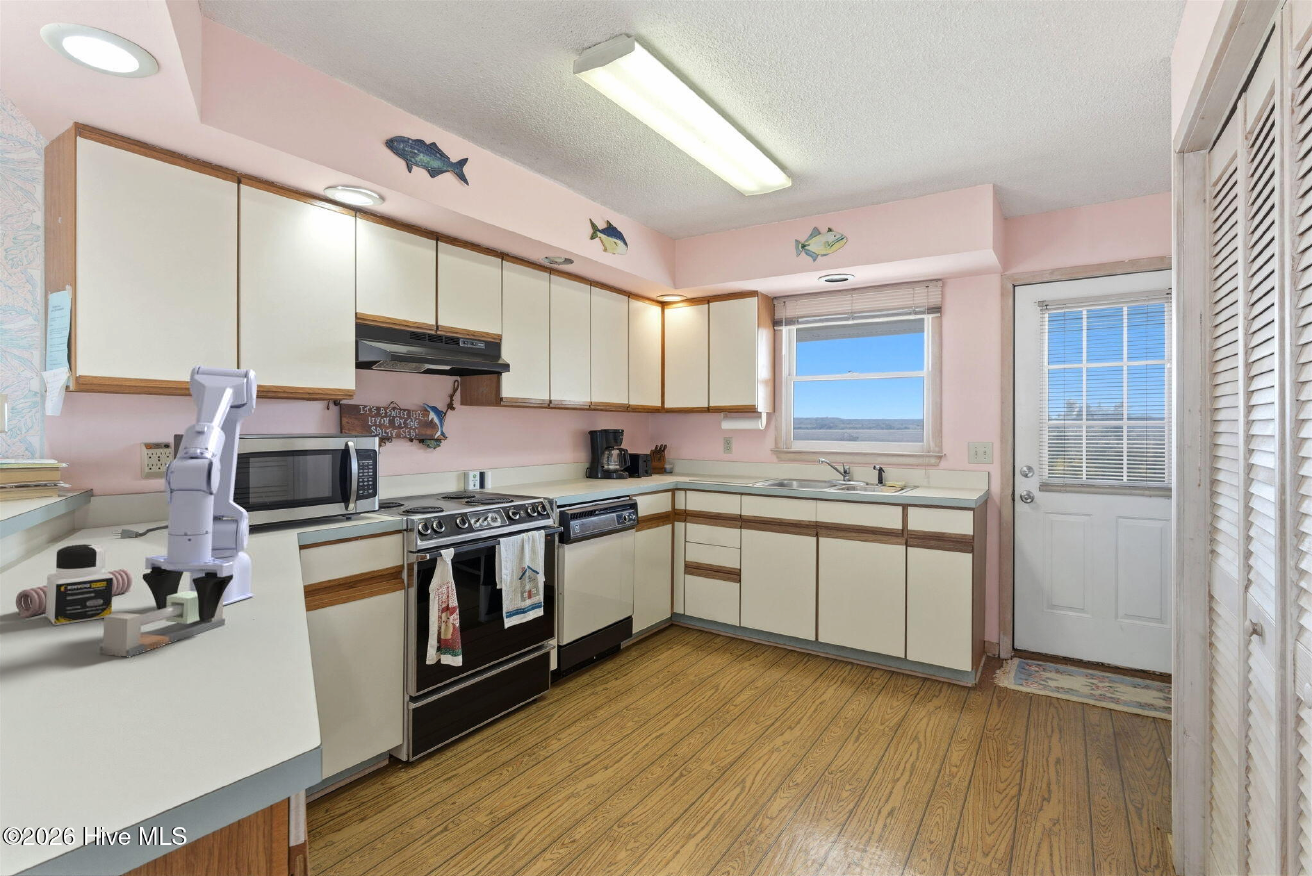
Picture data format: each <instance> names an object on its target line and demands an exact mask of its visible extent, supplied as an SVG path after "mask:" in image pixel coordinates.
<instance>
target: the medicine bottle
mask: <svg viewBox="0 0 1312 876" xmlns="http://www.w3.org/2000/svg"><path fill="white" fill-rule="evenodd" d="M55 563H56V565H55V573H50V574H48V575H47V577H46V585H47V596H46V613H45V617H47V619H48V620H49V621H50V622H51V623H52V624H53V625H54V626H61V625H67V624H74V623H81V622H87V621H93V620H99V619H104V616H106V615H110V614H113V611H112V610H113V609H112V608H113V596H112V590H113V576H112V575H110V574H109V573H107V572H108V571H107V570H104V569H105V568H106V548H105V546H103V545H99V544H93V543H91V544H90V543H88V544H87V543H86V544H85V543H84V544H72V545H67V546H63V547H62V548H59V549H58V550H57V551H56V561H55Z"/></svg>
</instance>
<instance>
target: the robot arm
mask: <svg viewBox="0 0 1312 876" xmlns="http://www.w3.org/2000/svg"><path fill="white" fill-rule="evenodd" d="M189 375H190V377H189V391H190V395H191V396H192V399H193V402H194V405H195V406H196V408H197V411H196V418H195V419H196V420H195V423H194V424H191V425H189V426H188V427H186V429H184V433H183V435H182V440H181V441H180V444H179V448H178V452H177V453H176V458H175V459H174V460H173V461H171V460H170V461H168V463H167V464H166V466H165V472H164V489H165V497H166V498H165V500H166V501H165V502H166V505H168V526H167V527H168V529H167V545H166V546H167V548H166V549H167V550H166V551H167V552H166V555H160V554H157V555H150V556H146V557H145V560H144V561H145V564H144V566H145V567H144V569H145V570H150V571H149V572H147V573H143V574H142V580H143V581H144V583H145V584H146V586H147V587H148V588H149V590H150V592H151V594H152V596H153V598H154V602H155V605H156V609H157V610H160V609H164V608H166V606H167V596H169V595H173V594H177V593H179V592H178V591H179V586H180V583H181V580H182V577H183V574H184V573H189V590H188V591H193V592H196V591H197V596H198V614H199V620H200V621H206V620H209V619H212V618H214V616H215V613H216V610H217V607H218V604H219V602H220V599H221V597H222V595H223V606H226V605H229V604H232V603H236V602H239V601H242V600H246V599H249V598H252V597H254V595H255V593H251V583H252V582H251V580H252V561H251V558H250V557H249V555H248V554H247V553H246V552H244V551H245V550H246V548H247V546H248V544H249V534H250V531H249V530H250V528H249V527H250V526H249V517H250V516H249V514H248V512H247V510H246V509H245V508H243V507H241V506H240V505H239V504H237V503H235V502H234V492H235V481H236V473H237V471H236V470H237V464H238V450H239V442H240V441H239V440H240V431H241V427H242V424H243V420H244V418H246V417H248V416H252V415H254V412H255V411H254V410H255V409H256V402H257V392H258V391H257V390H258V377H257V376H258V375H257V374H256V372H255V371H254V369H240V368H239V369H237V368H226V367H215V366H213V367H212V366H202V365H197V364H196V365H195V367H192V369H191V371H190V374H189Z"/></svg>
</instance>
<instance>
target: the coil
mask: <svg viewBox="0 0 1312 876" xmlns="http://www.w3.org/2000/svg"><path fill="white" fill-rule="evenodd" d="M106 572H107V573H109V574H110V575H112V576H113V590H112V597H115V596H117V595H121V594H125V593H130V592H131V588H132V584H133V577H132V574H131V573H130V571H128V570H126V569H123V568H121V569H117V570H113V571H112V570H111V571H106ZM46 596H47V584H44V585H42V586H37V587H31V588H29V589H22V590H21V591H20V592H18V593H17V595H16V597H15V598H16V599H15V607H16V609H17V610H18V612H19V613H20V615H19V618H23V619H24V618H26V619H27V618H30V617H35V616H38V615H42V614H43V615H44V614H46Z"/></svg>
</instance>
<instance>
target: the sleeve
mask: <svg viewBox="0 0 1312 876" xmlns="http://www.w3.org/2000/svg"><path fill="white" fill-rule="evenodd" d="M181 603H184V612H183V614H179V615H176V616H173V617H169V618H166V619H165V622H170V623H185V624H188V623H191V622H194V621H198V620H199V614H198V596H197V592H193V591H189V590H184V591H182V592H177V594H173V595H169V596H167V606H166V608H167V607H171V606H174V605H178V604H181Z"/></svg>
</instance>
